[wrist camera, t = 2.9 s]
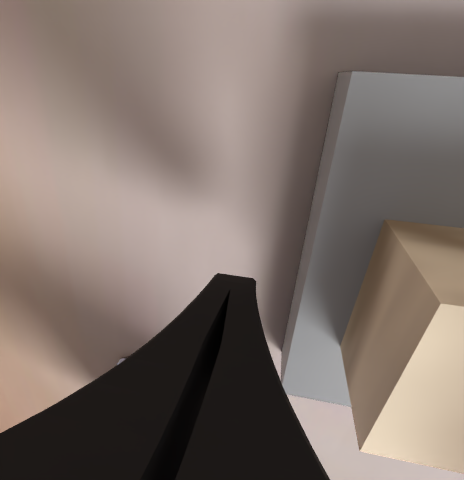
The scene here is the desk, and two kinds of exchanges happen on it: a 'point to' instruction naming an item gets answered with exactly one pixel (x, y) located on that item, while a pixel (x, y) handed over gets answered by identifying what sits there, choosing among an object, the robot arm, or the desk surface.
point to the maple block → (410, 347)
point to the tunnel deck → (369, 207)
